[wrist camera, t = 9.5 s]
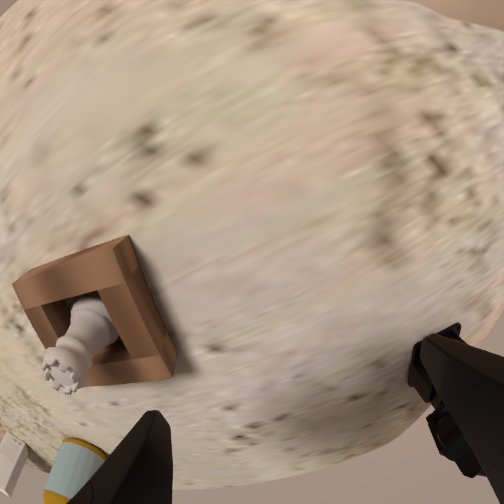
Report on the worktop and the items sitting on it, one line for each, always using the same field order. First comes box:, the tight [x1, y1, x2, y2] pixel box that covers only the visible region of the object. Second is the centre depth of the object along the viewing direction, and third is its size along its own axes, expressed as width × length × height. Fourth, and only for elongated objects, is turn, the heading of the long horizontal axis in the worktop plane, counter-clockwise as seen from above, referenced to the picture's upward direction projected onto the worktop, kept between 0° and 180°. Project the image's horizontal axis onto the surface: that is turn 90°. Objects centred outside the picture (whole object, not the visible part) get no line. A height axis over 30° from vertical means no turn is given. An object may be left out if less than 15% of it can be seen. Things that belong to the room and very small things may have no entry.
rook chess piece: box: [41, 290, 120, 395], centre depth 16 cm, size 4×4×8 cm
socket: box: [12, 235, 178, 387], centre depth 18 cm, size 10×10×3 cm
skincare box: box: [0, 431, 29, 497], centre depth 21 cm, size 6×4×12 cm
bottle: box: [43, 437, 107, 504], centre depth 19 cm, size 7×7×15 cm
